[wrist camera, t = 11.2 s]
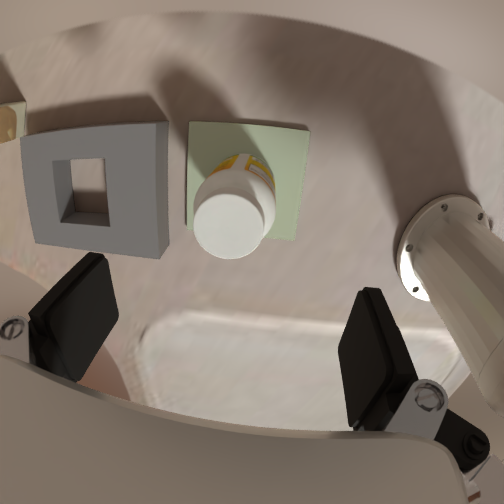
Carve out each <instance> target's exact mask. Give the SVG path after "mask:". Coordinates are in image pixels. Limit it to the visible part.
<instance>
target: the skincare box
mask: <svg viewBox="0 0 504 504" xmlns="http://www.w3.org/2000/svg"><path fill="white" fill-rule="evenodd" d="M25 111H26V102H25V101H21V102H11V103H4V104H0V144H1V143H4V142H7V141H11V140H14V139H17V138H20V137H23V136H24V125H25Z"/></svg>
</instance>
